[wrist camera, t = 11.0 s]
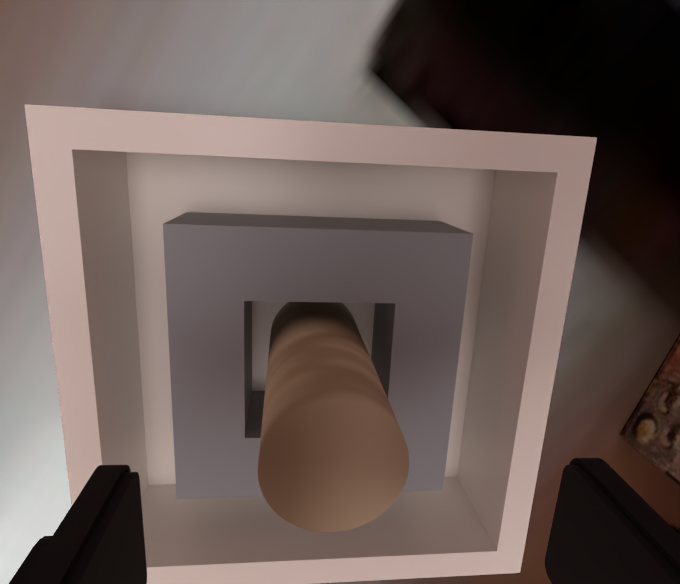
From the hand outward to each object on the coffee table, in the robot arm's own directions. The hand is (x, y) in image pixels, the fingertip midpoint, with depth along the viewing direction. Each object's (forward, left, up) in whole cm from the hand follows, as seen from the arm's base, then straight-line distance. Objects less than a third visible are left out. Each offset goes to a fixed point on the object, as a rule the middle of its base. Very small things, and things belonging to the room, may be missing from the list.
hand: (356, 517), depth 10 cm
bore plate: (0, 0, -13) cm, 13 cm away
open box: (0, 0, -13) cm, 13 cm away
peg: (0, 0, -12) cm, 12 cm away
